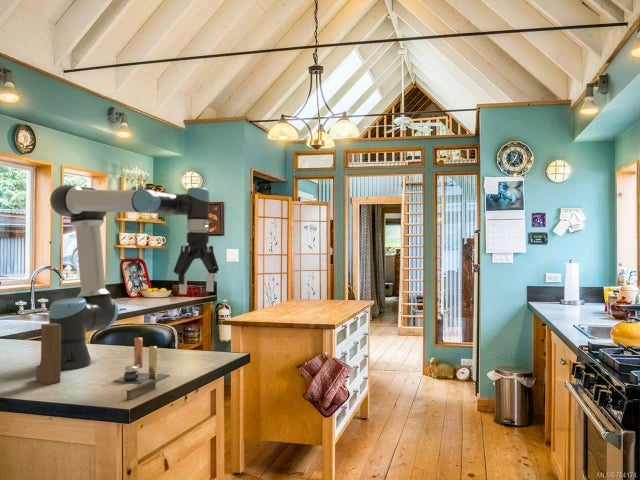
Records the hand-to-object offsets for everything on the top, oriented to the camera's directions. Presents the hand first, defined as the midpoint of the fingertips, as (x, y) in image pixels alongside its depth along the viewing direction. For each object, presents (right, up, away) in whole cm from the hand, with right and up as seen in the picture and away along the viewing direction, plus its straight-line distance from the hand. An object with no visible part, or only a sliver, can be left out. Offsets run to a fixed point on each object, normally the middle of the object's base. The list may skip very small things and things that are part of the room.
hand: (196, 292), depth 191 cm
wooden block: (-42, -26, -21) cm, 53 cm away
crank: (-16, -23, -17) cm, 33 cm away
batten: (-8, -25, -35) cm, 44 cm away
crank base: (-13, -26, -18) cm, 34 cm away
